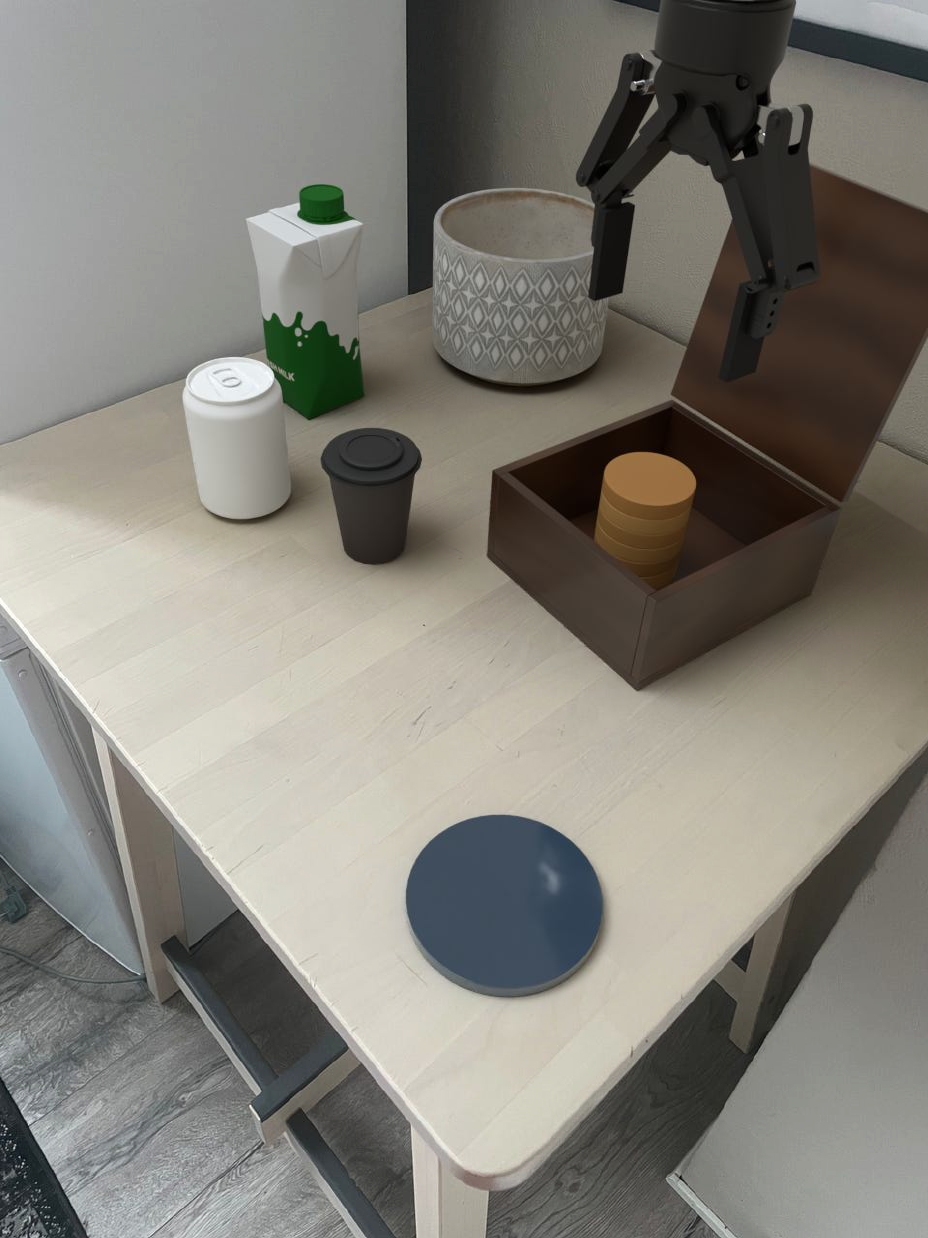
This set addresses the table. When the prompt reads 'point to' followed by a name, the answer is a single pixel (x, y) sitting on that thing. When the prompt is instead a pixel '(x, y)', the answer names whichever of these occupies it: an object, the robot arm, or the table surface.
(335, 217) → the milk carton
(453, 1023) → the table surface
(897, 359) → the lid
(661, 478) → the cookies
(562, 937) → the plate
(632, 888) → the table surface
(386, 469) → the coffee cup
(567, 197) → the planter
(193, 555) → the table surface
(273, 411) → the beverage can
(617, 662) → the chest
